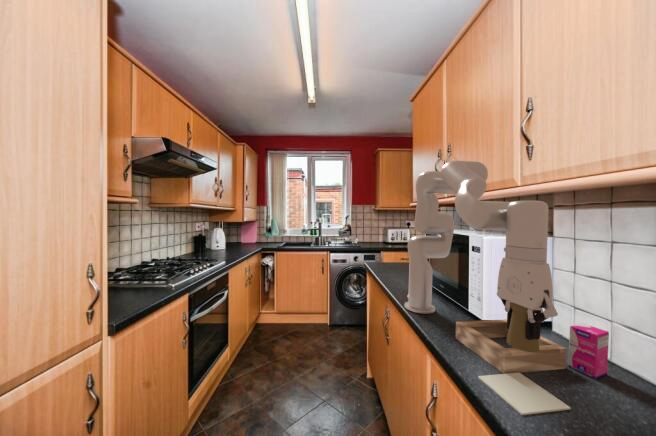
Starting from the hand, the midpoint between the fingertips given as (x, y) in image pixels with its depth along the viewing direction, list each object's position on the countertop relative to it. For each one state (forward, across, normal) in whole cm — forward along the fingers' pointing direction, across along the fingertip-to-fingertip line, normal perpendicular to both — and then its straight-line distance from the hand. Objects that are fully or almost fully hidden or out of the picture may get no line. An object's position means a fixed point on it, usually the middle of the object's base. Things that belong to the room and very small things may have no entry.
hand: (522, 333), depth 58 cm
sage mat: (+14, 0, 0) cm, 14 cm away
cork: (+3, 0, 0) cm, 3 cm away
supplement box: (+14, -5, +26) cm, 30 cm away
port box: (+14, -16, +12) cm, 24 cm away
